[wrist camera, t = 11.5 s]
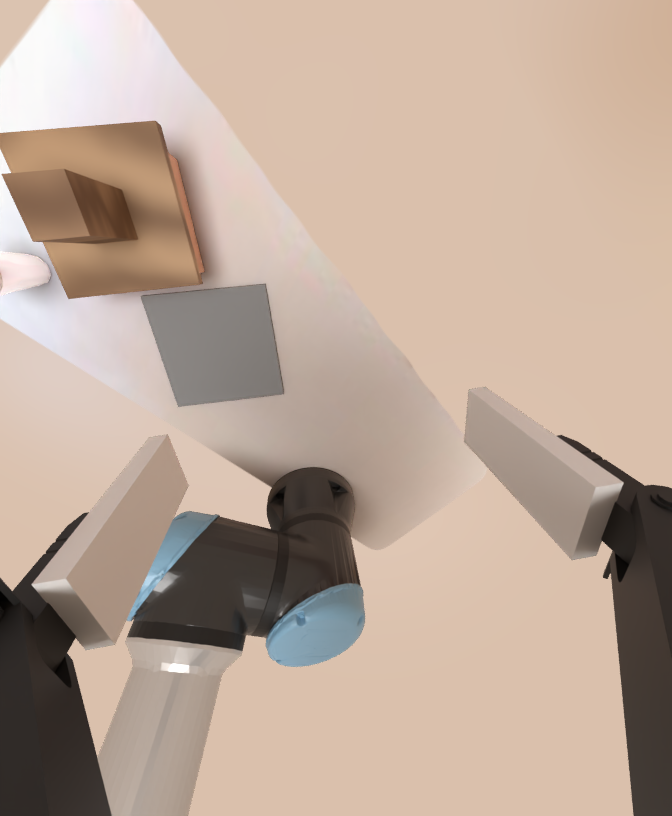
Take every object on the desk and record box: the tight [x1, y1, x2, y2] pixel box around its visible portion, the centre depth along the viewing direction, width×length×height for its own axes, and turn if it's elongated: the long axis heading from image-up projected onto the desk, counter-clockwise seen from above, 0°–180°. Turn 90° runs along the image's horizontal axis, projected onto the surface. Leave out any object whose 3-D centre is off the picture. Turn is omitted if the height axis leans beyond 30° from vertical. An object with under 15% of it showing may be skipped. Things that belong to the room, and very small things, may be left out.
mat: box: [141, 284, 284, 407], centre depth 42 cm, size 15×15×1 cm
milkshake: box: [0, 251, 51, 296], centre depth 32 cm, size 5×5×10 cm
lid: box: [0, 121, 203, 299], centre depth 26 cm, size 13×13×9 cm
